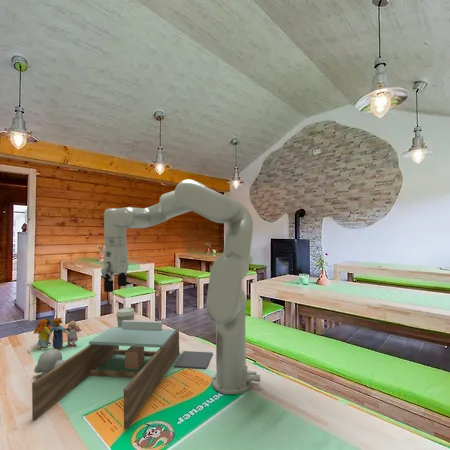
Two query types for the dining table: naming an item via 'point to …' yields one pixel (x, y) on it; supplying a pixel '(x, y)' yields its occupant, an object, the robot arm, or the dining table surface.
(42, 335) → the doll family
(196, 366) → the rubber mat
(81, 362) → the wooden shelf frame
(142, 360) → the terracotta block
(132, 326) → the sliding cover
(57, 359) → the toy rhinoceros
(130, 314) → the coffee cup
